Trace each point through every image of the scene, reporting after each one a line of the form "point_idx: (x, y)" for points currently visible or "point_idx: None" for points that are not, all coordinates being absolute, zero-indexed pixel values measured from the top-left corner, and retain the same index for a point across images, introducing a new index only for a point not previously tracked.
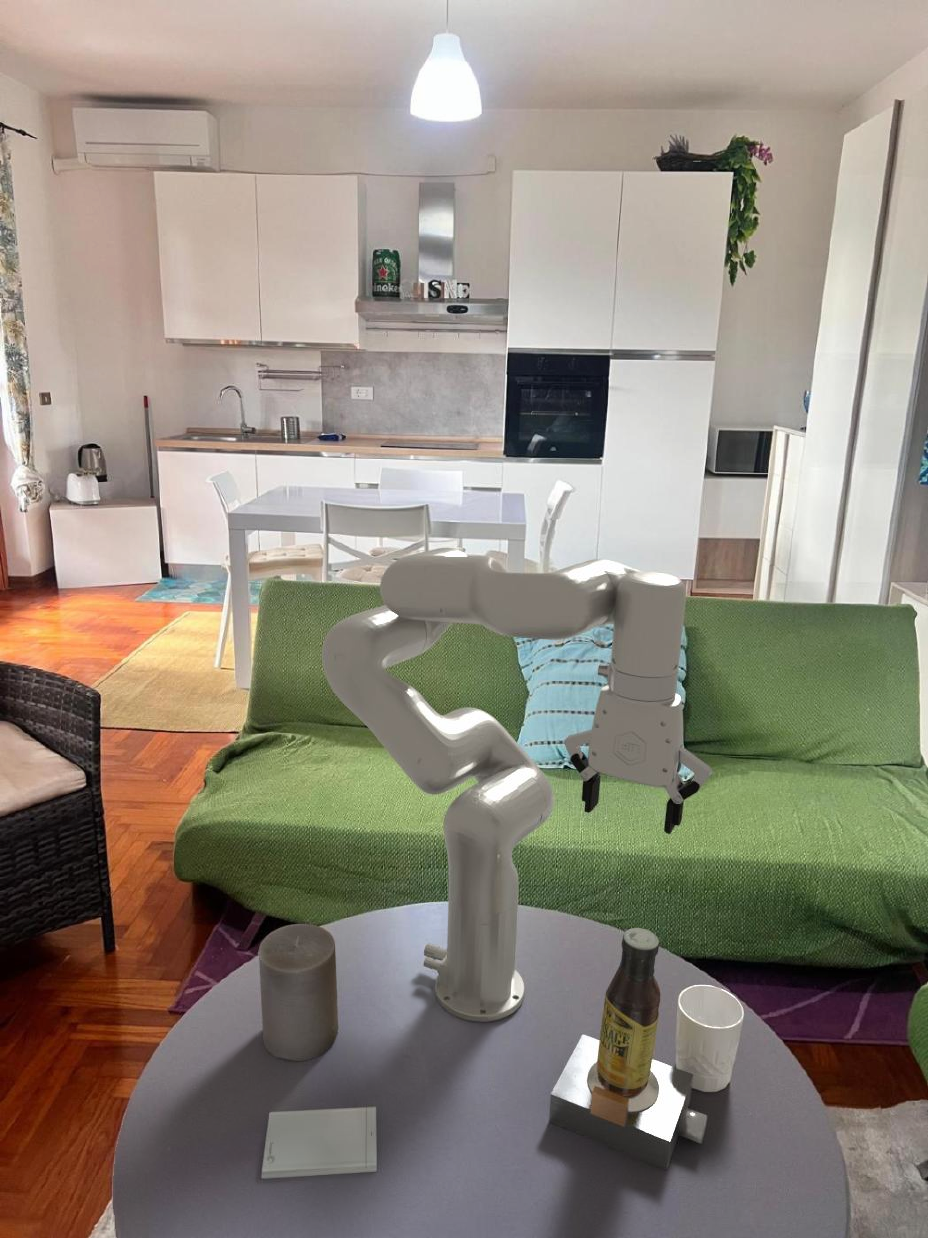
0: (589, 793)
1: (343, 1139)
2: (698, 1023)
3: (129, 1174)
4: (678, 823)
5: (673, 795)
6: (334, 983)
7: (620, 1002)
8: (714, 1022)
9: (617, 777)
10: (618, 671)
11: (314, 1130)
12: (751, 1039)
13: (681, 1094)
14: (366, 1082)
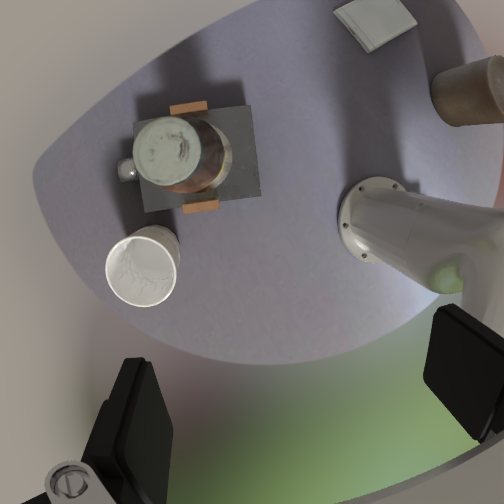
0: (489, 339)
1: (367, 18)
2: (138, 236)
3: None
4: (103, 404)
5: (86, 496)
6: (468, 97)
7: (188, 119)
8: (151, 286)
9: (485, 447)
10: None
11: (387, 18)
12: (139, 313)
13: (143, 180)
14: (391, 75)
